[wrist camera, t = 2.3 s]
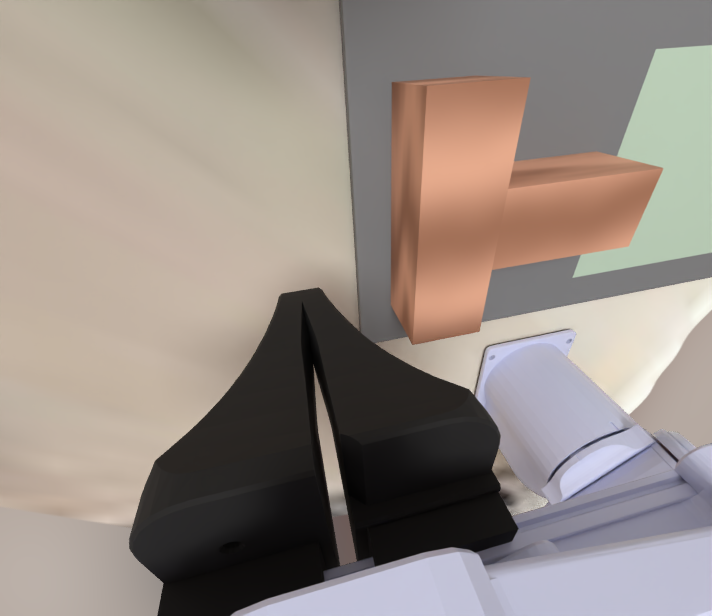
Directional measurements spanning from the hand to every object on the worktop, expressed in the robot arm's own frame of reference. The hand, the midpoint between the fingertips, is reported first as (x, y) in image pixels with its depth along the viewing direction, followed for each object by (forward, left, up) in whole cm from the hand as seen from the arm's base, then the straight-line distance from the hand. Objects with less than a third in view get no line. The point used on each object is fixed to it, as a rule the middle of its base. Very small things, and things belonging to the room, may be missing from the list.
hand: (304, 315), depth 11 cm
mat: (0, -18, -8) cm, 20 cm away
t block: (0, -12, -8) cm, 14 cm away
